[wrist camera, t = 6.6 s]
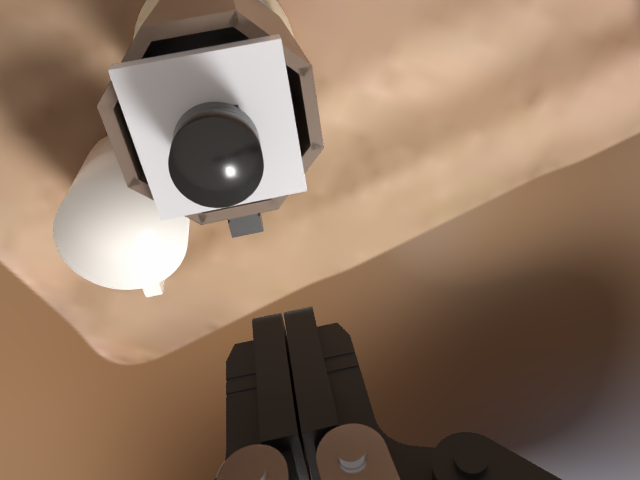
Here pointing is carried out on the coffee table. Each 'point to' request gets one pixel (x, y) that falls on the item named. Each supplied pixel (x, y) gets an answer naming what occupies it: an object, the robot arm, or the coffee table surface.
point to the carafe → (213, 99)
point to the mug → (116, 229)
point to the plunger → (216, 155)
